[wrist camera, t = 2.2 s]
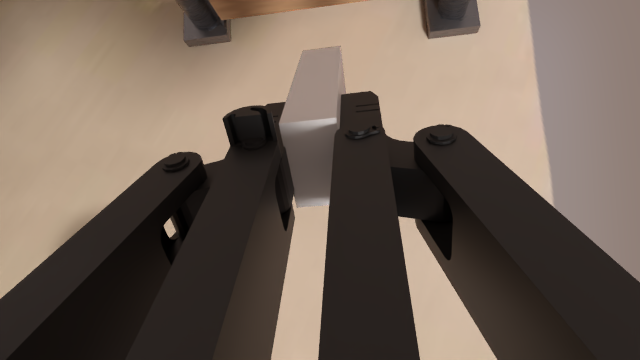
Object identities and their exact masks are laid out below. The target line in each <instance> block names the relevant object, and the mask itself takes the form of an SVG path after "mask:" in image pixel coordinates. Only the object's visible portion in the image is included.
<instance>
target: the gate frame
mask: <svg viewBox="0 0 640 360" xmlns="http://www.w3.org/2000/svg"><path fill="white" fill-rule="evenodd" d="M175 1H176V2H177V3H178V5H179V6H180V7H181V9H182V10H183V11H184V41H185V43H186V44H187V45H188V46H189V47H191V46H199V45H206V44H214V43H222V42H230V41H231V19H227V20H221V19H220V17H219V16H218V14H217V13H216V11H215V9H214V8H213V6H212V5H211V3H210V2H209V0H175ZM424 7H425V15H426V23H427V31H428V39H431V38H439V37H448V36H456V35H464V34H472V33H477V32H478V30H479V28H480V20H479V13H478V7H477V0H424Z"/></svg>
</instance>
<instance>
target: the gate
mask: <svg viewBox="0 0 640 360" xmlns="http://www.w3.org/2000/svg"><path fill="white" fill-rule="evenodd" d="M360 1H368V0H209V2H210V3H211V5H212V6H213V8H214V9H215V11H216V13H217V14H218V16H219V17H220V19H221V20H227V19H235V18H242V17H250V16H257V15H264V14H272V13H279V12H286V11H294V10H301V9H309V8H316V7H323V6H331V5H338V4H345V3H353V2H360Z"/></svg>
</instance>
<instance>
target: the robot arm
mask: <svg viewBox="0 0 640 360" xmlns="http://www.w3.org/2000/svg"><path fill="white" fill-rule="evenodd" d="M223 122H224V125H225V129H226V132H227V136H228V139H229V142H230V148H229V150H228V152H227V154H226V156H225V158H224V159H223V160H220V161H217V162H213V163H209V164H205V165H204V164H203V161H202V158H201V156H200V155H199V154H197V153H193V152H178V153H177V154H176V153H174V154H171V155H169V156H168V157H166V158H164V159H162V160H160V161H159V162H158V163H156V164H155V165H154V166H153V167H151V168H150V169H149V170H148V171H147V172H146V173H145V174H143V175H142V176H141V177H140V178H139V179H138V180H136V181H135V182H134V183H133V184H132V185H131V186H130V187H128V188H127V189H126V190H125V191H124V192H123V193H122V194H120V195H119V196H118V197H117V198H116V199H115V200H114V201H112V202H111V203H110V204H109V205H108V206H107V207H106V208H104V209H103V210H102V211H101V212H100V213H99V214H97V215H96V216H95V217H94V218H93V219H92V220H91V221H89V222H88V223H87V224H86V225H85V226H84V227H83V228H81V229H80V230H79V231H78V232H77V233H76V234H75V235H73V236H72V237H71V238H70V239H69V240H68V241H67V242H65V243H64V244H63V245H62V246H61V247H60V248H58V249H57V250H56V251H55V252H54V253H53V254H52V255H50V256H49V257H48V258H47V259H46V260H45V261H44V262H42V263H41V264H40V265H39V266H38V267H37V268H36V269H34V270H33V271H32V272H31V273H30V274H29V275H27V276H26V277H25V278H24V279H23V280H22V281H21V282H19V283H18V284H17V285H16V286H15V287H14V288H13V289H11V290H10V291H9V292H8V293H7V294H6V295H5V296H3V297H2V298H1V299H0V360H271V354H272V348H273V343H274V337H275V331H276V325H277V319H278V313H279V308H280V302H281V296H282V290H283V284H284V278H285V272H286V267H287V261H288V255H289V249H290V243H291V237H292V232H293V226H294V220H295V216H294V210H293V206H292V200H293V195H294V197H295V202H296V206H297V208H298V207H310V206H323V205H329V217H328V231H327V245H326V259H325V273H324V287H323V301H322V315H321V329H320V343H319V357H318V360H420V357H419V350H418V344H417V337H416V331H415V324H414V318H413V311H412V305H411V298H410V292H409V285H408V279H407V272H406V266H405V259H404V252H403V246H402V239H401V233H400V226H399V220H398V216H400V217H407V218H414V219H415V222H416V226H417V228H418V230H419V232H420V233H421V235H422V237H423V238H424V240H425V242H426V243H427V245H428V247H429V248H430V250H431V251H432V253H433V255H434V256H435V258H436V260H437V261H438V263H439V265H440V266H441V268H442V269H443V271H444V273H445V274H446V276H447V278H448V279H449V281H450V283H451V284H452V286H453V287H454V289H455V291H456V292H457V294H458V296H459V297H460V299H461V301H462V302H463V304H464V306H465V307H466V309H467V310H468V312H469V314H470V315H471V317H472V319H473V320H474V322H475V324H476V325H477V327H478V328H479V330H480V332H481V333H482V335H483V337H484V338H485V340H486V342H487V343H488V345H489V347H490V348H491V350H492V351H493V353H494V355H495V356H496V358H497V360H640V282H639V281H637V280H636V279H635V278H634V277H633V276H632V275H630V274H629V273H628V272H627V271H626V270H625V269H624V268H623V267H621V266H620V265H619V264H618V263H617V262H616V261H614V260H613V259H612V258H611V257H610V256H609V255H608V254H607V253H605V252H604V251H603V250H602V249H601V248H600V247H599V246H597V245H596V244H595V243H594V242H593V241H592V240H590V239H589V238H588V237H587V236H586V235H585V234H584V233H582V232H581V231H580V230H579V229H578V228H577V227H576V226H574V225H573V224H572V223H571V222H570V221H569V220H568V219H567V218H565V217H564V216H563V215H562V214H561V213H560V212H558V211H557V210H556V209H555V208H554V207H553V206H552V205H550V204H549V203H548V202H547V201H546V200H545V199H544V198H542V197H541V196H540V195H539V194H538V193H537V192H536V191H534V190H533V189H532V188H531V187H530V186H529V185H528V184H526V183H525V182H524V181H523V180H522V179H521V178H520V177H518V176H517V175H516V174H515V173H514V172H513V171H512V170H510V169H509V168H508V167H507V166H506V165H505V164H504V163H502V162H501V161H500V160H499V159H498V158H497V157H496V156H494V155H493V154H492V153H491V152H490V151H489V150H488V149H486V148H485V147H484V146H483V145H482V144H481V143H480V142H478V141H477V140H476V139H475V138H474V137H473V136H472V135H470V134H469V133H468V132H467V131H465V130H463V129H462V128H459V127H455V126H451V125H436V126H430V127H427V128H424V129H421V130H420V131H418V132H417V133H416V134H415V136H414V138H413V140H414V142H407V141H399V140H396V139H392V138H390V137H388V136H387V135H386V134H385V130H384V128H383V126H382V120H381V113H380V106H379V100H378V96H377V95H375V94H374V93H373V92H371V91H368V92H359V93H350V94H346V89H345V80H344V71H343V62H342V54H341V46H336V47H328V48H320V49H312V50H305V51H302V54H301V57H300V60H299V63H298V66H297V69H296V72H295V75H294V79H293V82H292V85H291V88H290V91H289V94H288V97H287V100H286V102H281V103H272V104H267V105H266V106H261V105H259V106H248V107H242V108H239V109H237V110H234V111H232V112H230V113H228V114H227V115H226V116H225V117H224V118H223ZM169 218H171V221H172V223H173V225H174V228H175V230H176V232H175V234H174V235H173V236H172V237H170V238H169V237H168V235H167V233H166V231H165V229H164V224H165V223H166V222H167V220H168V219H169Z"/></svg>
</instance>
